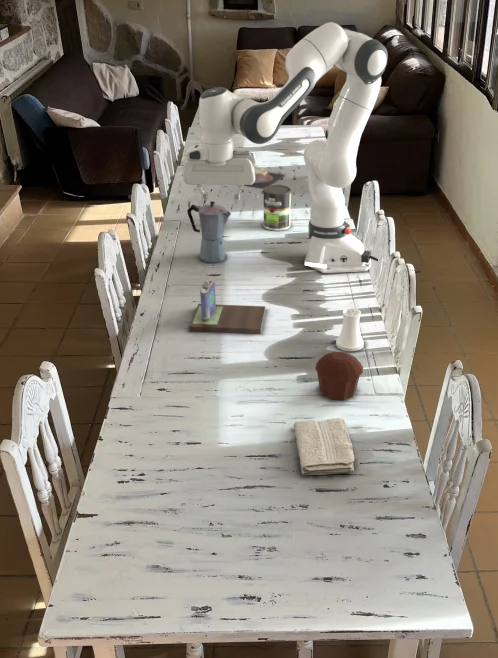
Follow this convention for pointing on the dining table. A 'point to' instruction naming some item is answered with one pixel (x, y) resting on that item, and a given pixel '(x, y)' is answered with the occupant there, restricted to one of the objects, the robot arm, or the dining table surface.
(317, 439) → the washcloth
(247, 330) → the board
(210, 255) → the moka pot
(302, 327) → the dining table surface
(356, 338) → the white salt shaker
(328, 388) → the muffin
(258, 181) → the quiche
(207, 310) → the flask
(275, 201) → the coffee can
